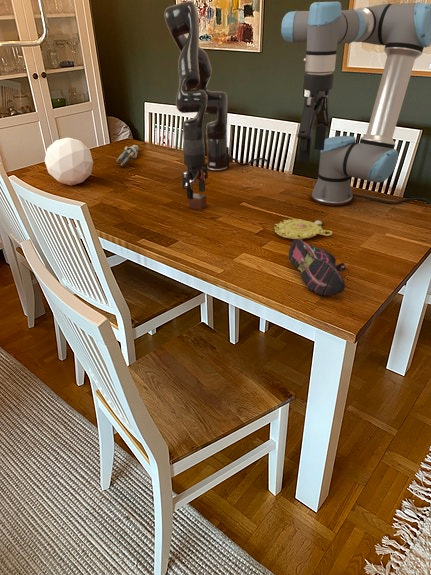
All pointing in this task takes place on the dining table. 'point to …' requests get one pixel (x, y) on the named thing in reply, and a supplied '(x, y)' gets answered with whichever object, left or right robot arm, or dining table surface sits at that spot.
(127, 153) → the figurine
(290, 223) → the decorative object
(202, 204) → the block
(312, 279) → the athletic shoe
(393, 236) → the dining table surface
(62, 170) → the sphere
